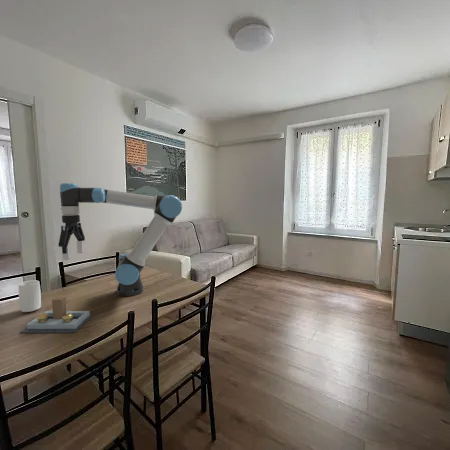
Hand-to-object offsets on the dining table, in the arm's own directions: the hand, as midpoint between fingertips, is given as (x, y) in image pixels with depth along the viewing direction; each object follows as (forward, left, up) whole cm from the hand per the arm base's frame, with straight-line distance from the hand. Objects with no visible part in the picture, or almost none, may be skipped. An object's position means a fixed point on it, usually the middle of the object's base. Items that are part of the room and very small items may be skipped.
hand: (73, 256), depth 124 cm
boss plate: (-3, +19, -26) cm, 32 cm away
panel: (-3, +18, -26) cm, 31 cm away
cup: (+19, +6, -27) cm, 33 cm away
